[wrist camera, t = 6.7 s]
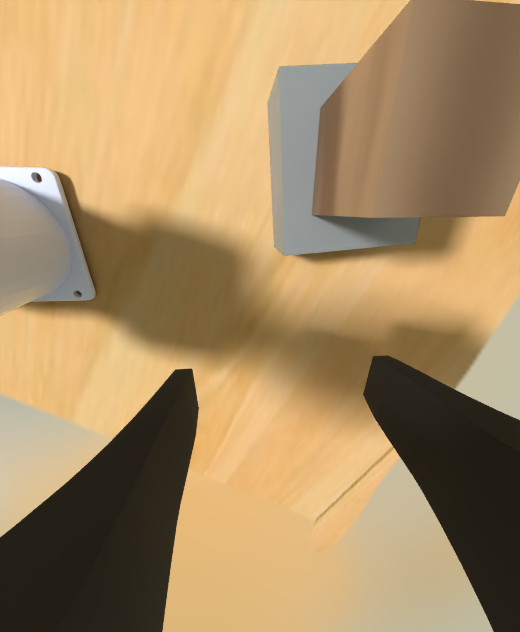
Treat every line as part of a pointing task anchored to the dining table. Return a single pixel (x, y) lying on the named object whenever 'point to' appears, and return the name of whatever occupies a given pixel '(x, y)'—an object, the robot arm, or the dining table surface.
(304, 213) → the grey base block
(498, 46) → the walnut block
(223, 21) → the dining table surface
